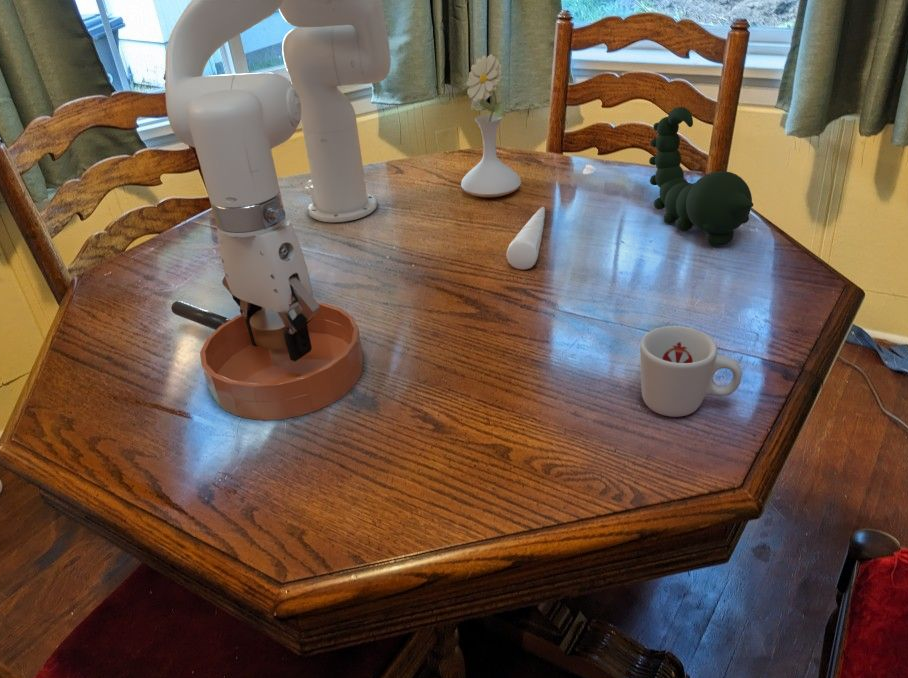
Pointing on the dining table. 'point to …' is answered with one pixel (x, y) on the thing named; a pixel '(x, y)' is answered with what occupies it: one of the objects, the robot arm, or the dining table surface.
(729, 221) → the toy figurine
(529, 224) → the unicorn horn
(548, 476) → the dining table surface
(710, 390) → the cup
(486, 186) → the flower in vase
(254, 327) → the mushroom
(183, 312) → the pan handle
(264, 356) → the pan
